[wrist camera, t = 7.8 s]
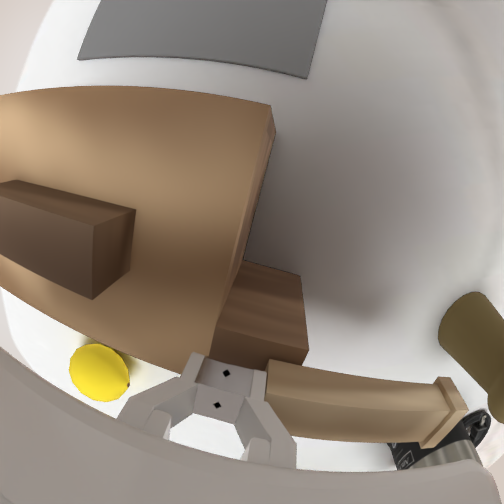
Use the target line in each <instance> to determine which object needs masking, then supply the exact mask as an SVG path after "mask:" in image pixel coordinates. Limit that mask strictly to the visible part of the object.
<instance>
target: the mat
mask: <svg viewBox="0 0 504 504" xmlns="http://www.w3.org/2000/svg"><path fill="white" fill-rule="evenodd" d="M326 3H327V0H101V2H100V4H99V6H98V8H97V10H96V12H95V14H94V17H93V19H92V21H91V24H90V26H89V28H88V31H87V33H86V36H85V38H84V41H83V43H82V46H81V49H80V52H79V55H78V57H77V60H88V59H100V58H116V57H170V58H187V59H199V60H209V61H217V62H225V63H232V64H238V65H244V66H250V67H256V68H261V69H266V70H271V71H275V72H280V73H284V74H288V75H292V76H296V77H300V78H304V79H307V77H308V73H309V69H310V65H311V62H312V58H313V54H314V50H315V46H316V42H317V38H318V34H319V30H320V26H321V22H322V19H323V15H324V11H325V7H326Z"/></svg>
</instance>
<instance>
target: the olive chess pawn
mask: <svg viewBox="0 0 504 504" xmlns="http://www.w3.org/2000/svg"><path fill="white" fill-rule="evenodd" d="M438 340H439V343H440V345H441V346H442V348H443V349H444V350H445V351H446V352H448V353H449V354H450V355H451V356H452V357H453V358H454V359H455V360H456V361H457V362H458V363H459V364H460V365H461V366H462V367H463V368H464V369H465V370H466V371H467V372H468V374H469V375H470V376H471V377H472V378H473V379H474V380H475V381H476V382H477V383H478V384H479V385H480V386H481V387H482V388H483V389H484V390H485V391H486V392H487V393H488V408H489V411H490V413H491V415H492V416H493V417H494V418H495V419H496V420H497V421H498V422H500V423H503V424H504V319H503V318H502V316H501V315H500V314H499V313H498V311H497V310H496V309H495V307H494V306H493V305H492V304H491V302H490V301H489V300H488V299H487V297H486V296H485V295H483V294H482V293H480V292H471V293H468V294H466V295H463V296H462V297H461V298H459V299H458V300H457V301H455V302H454V304H453V305H452V306H451V307H450V308H449V309H448V310H447V312H446V314H445V316H444V317H443V319H442V321H441V324H440V327H439V331H438Z"/></svg>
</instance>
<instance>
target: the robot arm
mask: <svg viewBox="0 0 504 504" xmlns="http://www.w3.org/2000/svg"><path fill="white" fill-rule="evenodd" d="M266 377H267V373H266V372H265V371H260V370H256V369H254V370H253V369H251V368H247V367H243V366H239V365H235V364H231V363H228V362H224V361H221V360H218V359H215V358H212V357H208V356H204V355H202V354H199V353H196V352H192V353H191V355H190V357H189V359H188V362H187V364H186V366H185V368H184V370H183V372H182V374H181V376H180V378H179V377H174V378H172V379H170V380H168V381H166V382H164V383H161V384H159V385H157V386H155V387H152V388H150V389H148V390H145V391H143V392H141V393H138V394H136V395H134V396H131V397H130V398H129V399H128V401H127V402H126V404H125V406H124V407H123V409H122V411H121V412H120V414H119V415H118V417H117V419H115V418H113V417H111V416H109V415H107V414H105V413H103V412H101V411H99V410H97V409H95V408H93V407H91V406H89V405H87V404H85V403H83V402H82V401H80V400H78V399H76V398H74V397H73V396H71V395H69V394H68V393H66V392H64V391H63V390H61V389H59V388H58V387H56V386H54V385H53V384H51V383H50V382H48V381H47V380H45V379H44V378H42V377H41V376H39V375H38V374H36V373H35V372H33V371H32V370H30V369H29V368H28V367H26V366H25V365H23V364H22V363H21V362H20V361H18V360H17V359H15V358H14V357H13V356H12V355H10V354H9V353H8V352H7V351H5V350H4V349H3V348H2V347H0V504H502V503H501V500H500V496H499V492H498V489H497V486H496V483H495V480H494V478H493V476H492V474H491V473H490V472H489V471H488V470H487V469H485V468H484V467H483V466H482V465H481V464H479V463H478V462H476V461H475V460H473V459H466V460H461V461H457V462H452V463H447V464H442V465H436V466H430V467H423V468H415V469H406V470H395V471H380V472H329V471H313V470H302V469H296V453H297V444H296V442H295V441H294V439H293V438H292V437H291V435H290V434H289V432H288V431H287V430H286V428H285V427H284V425H283V424H282V422H281V421H280V419H279V418H278V417H277V415H276V414H275V412H274V411H273V409H272V408H271V406H270V405H269V403H268V402H266V401H264V396H265V387H266ZM192 413H195V414H199V415H202V416H206V417H210V418H214V419H217V420H221V421H224V422H228V423H231V424H235V425H234V426H235V428H236V430H237V433H238V435H239V437H240V439H241V442H242V444H243V446H244V448H245V451H244V453H243V455H242V457H241V459H240V460H237V459H233V458H228V457H224V456H220V455H216V454H212V453H208V452H205V451H201V450H198V449H194V448H191V447H188V446H185V445H181V444H178V443H175V442H172V441H170V440H169V437H170V429H171V428H172V427H174V426H175V425H177V424H178V423H180V422H181V421H182V420H184V419H185V418H187V417H188V416H190V415H191V414H192Z"/></svg>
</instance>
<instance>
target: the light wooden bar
mask: <svg viewBox="0 0 504 504" xmlns="http://www.w3.org/2000/svg"><path fill="white" fill-rule="evenodd" d="M265 372H266V373H267V377H266V387H265V396H264V401H266V402H268V403H269V405H270V406H271V408H272V409H273V411H274V412H275V414H276V415H277V417H278V418H279V419H280V421H281V422H282V424H283V425H284V427H285V428H286V430H287V431H288V432H289V434H290V435H291V436H297V437H304V438H312V439H321V440H332V441H345V442H367V443H400V442H419V445H420V447H421V449H424V448H434V447H435V446H436V445H437V444H438V443H439V442H440V441H441V440H442V439H443V438H444V437H445V436H446V435H447V434H448V433H449V432H450V431H451V430H452V429H453V427H454V426H455V425H456V424H457V423H458V422H459V421H460V420H461V419H462V417H463V416H464V415H465V414H466V413H467V412H468V410H469V409H468V407H467V405H466V404H465V402H464V400H463V398H462V397H461V395H460V393H459V391H458V390H457V388H456V386H455V385H454V383H453V381H452V380H451V378H450V377H437V379H436V380H435V382H434V383H433V384H423V383H412V382H401V381H392V380H384V379H376V378H369V377H362V376H355V375H349V374H343V373H337V372H331V371H325V370H320V369H315V368H310V367H305V366H300V365H295V364H291V363H286V362H282V361H277V360H273V359H269V361H268V364H267V366H266V369H265Z"/></svg>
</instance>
